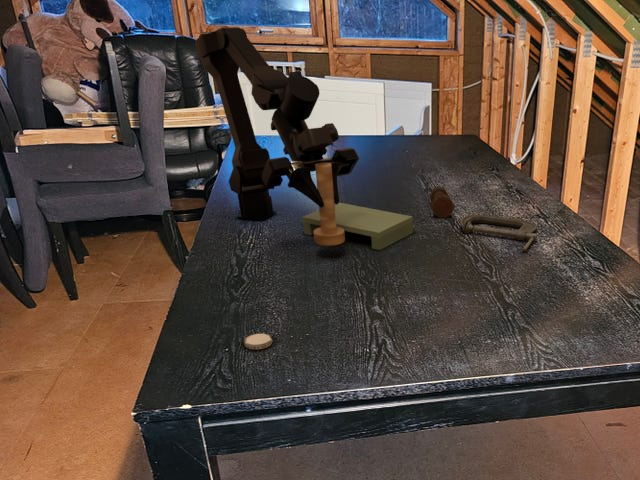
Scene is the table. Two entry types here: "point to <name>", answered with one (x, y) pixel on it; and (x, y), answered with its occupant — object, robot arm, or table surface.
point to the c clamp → (521, 234)
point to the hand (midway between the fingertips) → (330, 204)
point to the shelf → (366, 224)
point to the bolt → (441, 202)
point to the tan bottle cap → (258, 341)
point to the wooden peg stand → (327, 208)
